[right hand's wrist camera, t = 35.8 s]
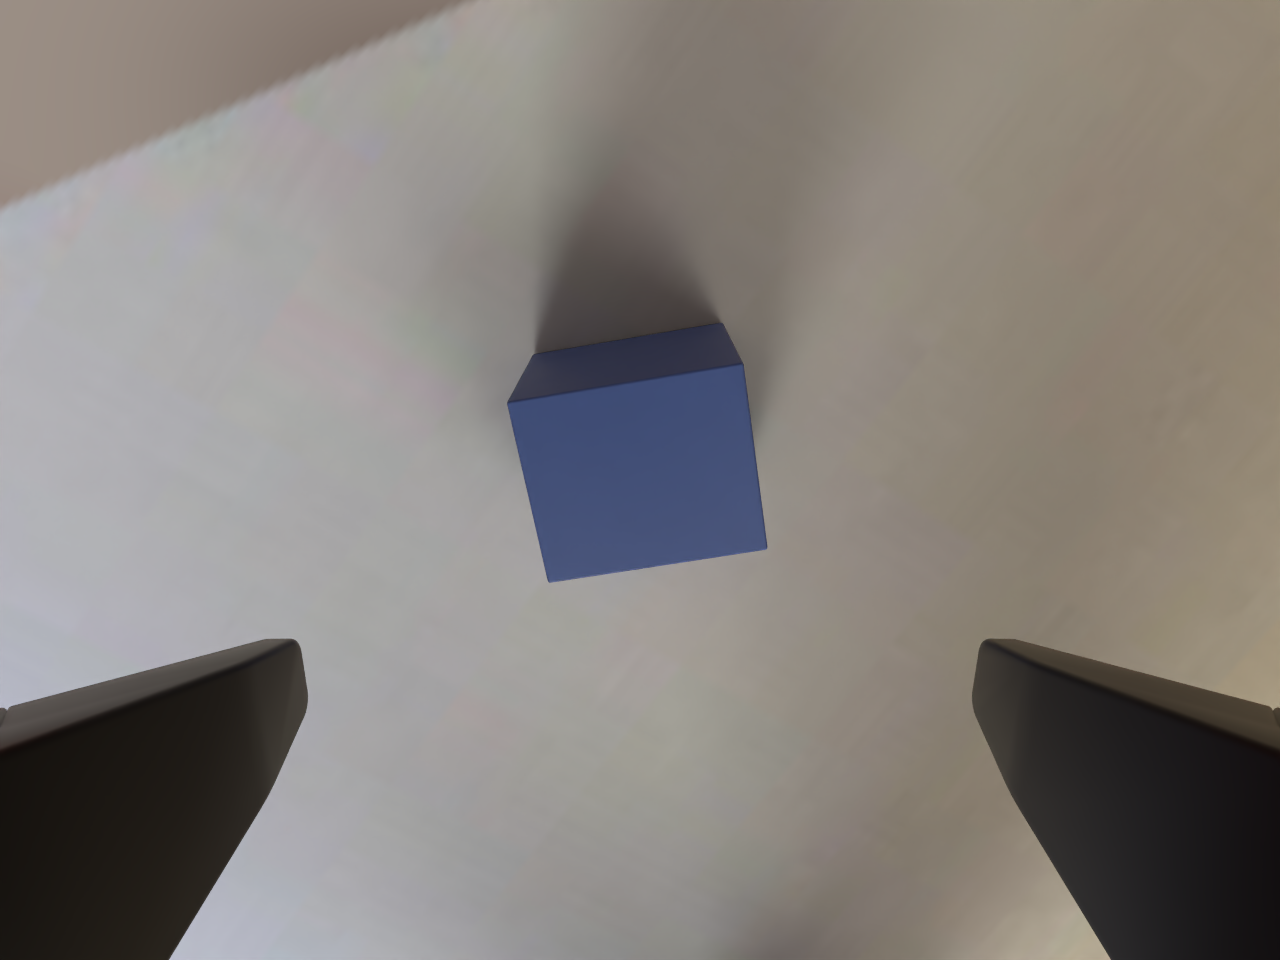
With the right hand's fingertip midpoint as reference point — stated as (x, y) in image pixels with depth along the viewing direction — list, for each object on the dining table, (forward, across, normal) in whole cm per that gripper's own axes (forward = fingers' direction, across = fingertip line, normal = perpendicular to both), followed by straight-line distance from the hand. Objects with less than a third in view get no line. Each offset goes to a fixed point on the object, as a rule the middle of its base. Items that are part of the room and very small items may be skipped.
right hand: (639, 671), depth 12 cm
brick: (+12, 0, 0) cm, 12 cm away
